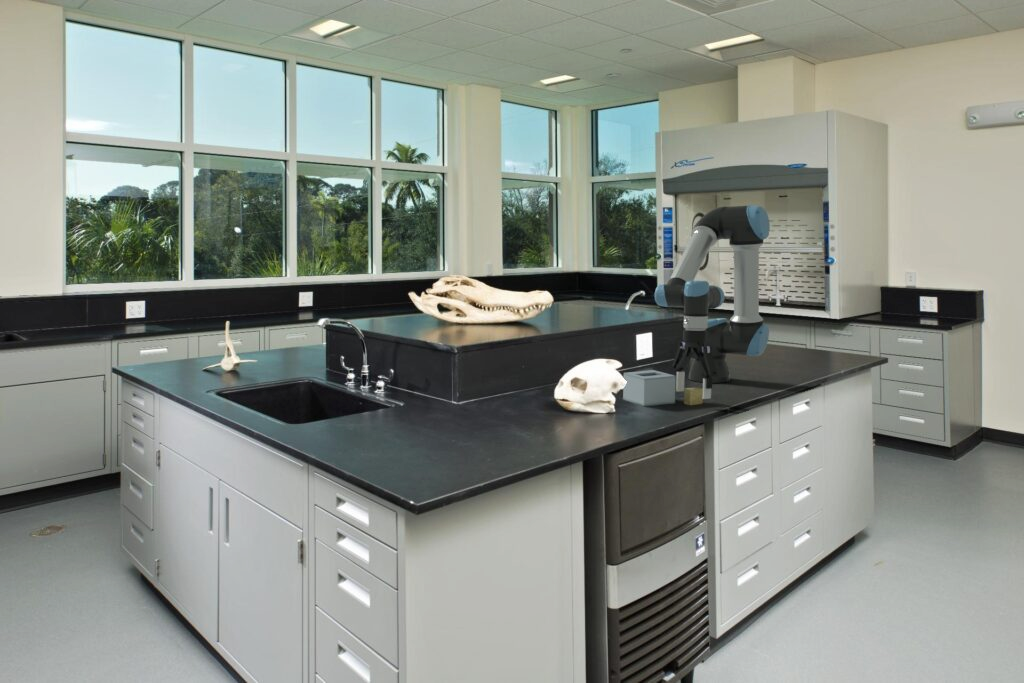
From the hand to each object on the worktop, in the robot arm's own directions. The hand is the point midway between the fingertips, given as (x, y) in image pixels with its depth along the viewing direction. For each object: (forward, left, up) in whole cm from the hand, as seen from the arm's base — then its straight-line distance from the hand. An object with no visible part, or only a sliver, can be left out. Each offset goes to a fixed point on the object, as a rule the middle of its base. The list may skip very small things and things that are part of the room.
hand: (693, 394), depth 243 cm
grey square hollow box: (+11, -9, -3) cm, 14 cm away
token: (0, 0, -3) cm, 3 cm away
